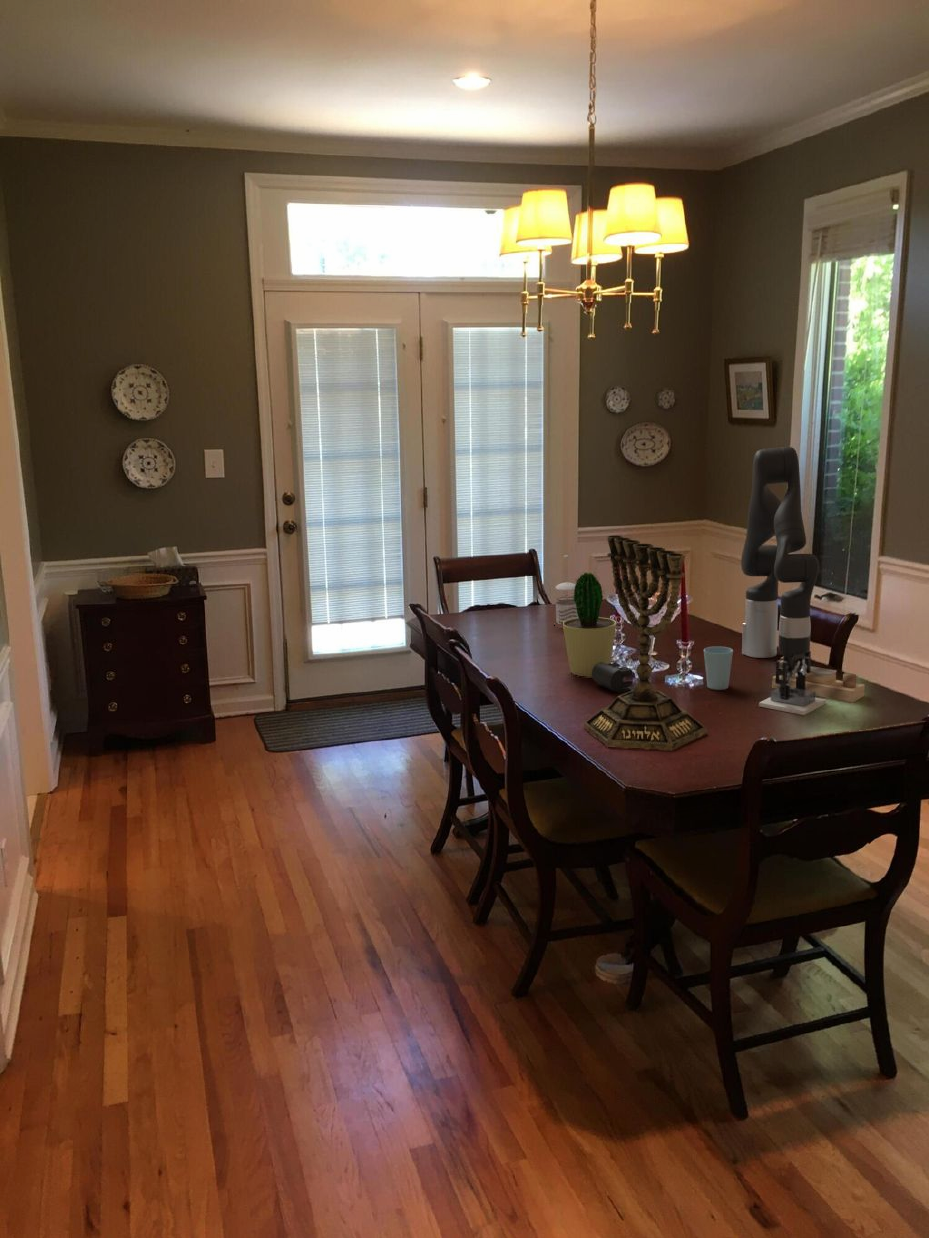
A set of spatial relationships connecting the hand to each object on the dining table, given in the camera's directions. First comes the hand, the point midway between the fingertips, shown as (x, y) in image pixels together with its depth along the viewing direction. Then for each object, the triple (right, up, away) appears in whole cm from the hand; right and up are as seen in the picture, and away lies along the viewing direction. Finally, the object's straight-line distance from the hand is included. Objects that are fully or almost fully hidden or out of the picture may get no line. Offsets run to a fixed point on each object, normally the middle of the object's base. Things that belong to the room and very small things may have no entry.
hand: (792, 695), depth 254 cm
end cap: (-43, 0, +21) cm, 48 cm away
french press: (-46, +17, +97) cm, 109 cm away
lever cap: (0, -1, 0) cm, 2 cm away
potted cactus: (-46, +4, +38) cm, 60 cm away
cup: (-14, +1, +18) cm, 23 cm away
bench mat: (0, -2, 0) cm, 3 cm away
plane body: (+10, 0, +10) cm, 14 cm away
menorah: (-40, -8, -14) cm, 43 cm away
